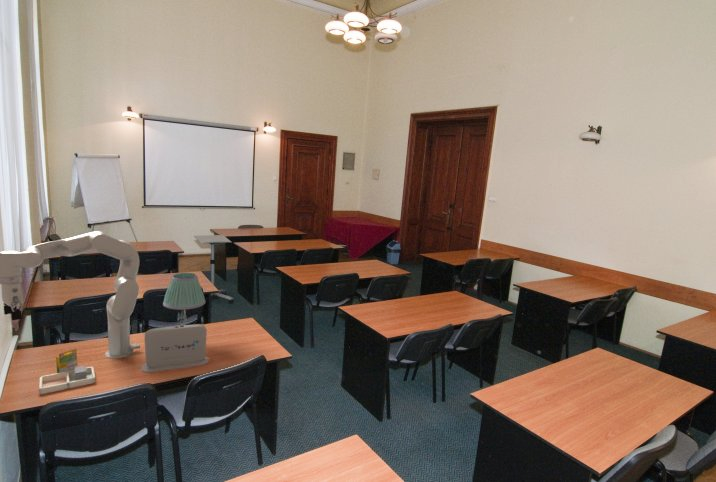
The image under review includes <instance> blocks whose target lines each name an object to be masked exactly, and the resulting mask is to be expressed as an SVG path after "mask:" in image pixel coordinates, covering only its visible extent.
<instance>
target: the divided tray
mask: <svg viewBox="0 0 716 482" xmlns="http://www.w3.org/2000/svg"><path fill="white" fill-rule="evenodd" d="M95 383H96V374H95V370H94V366H93V365H92V366H89V367H86V379H81V380H76V381H75V370H71V371H66V372H61V373H57V372H56V373H51V374H46V375H40V376H39V384H38V385H39V386H38V389H39V390H38V392H39V394H38V395H44V394H49V393H54V392H57V391H59V392H60V391H63V390H68V389H72V388H73V389H74V388H77V387H81V386H86V385H90V384H91V385H92V384H95Z"/></svg>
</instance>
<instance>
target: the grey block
mask: <svg viewBox="0 0 716 482" xmlns="http://www.w3.org/2000/svg"><path fill="white" fill-rule="evenodd" d="M86 368H87V367H86V365H81V366H77V367H75V381H76V380H81V379H86Z"/></svg>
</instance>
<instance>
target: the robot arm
mask: <svg viewBox="0 0 716 482" xmlns="http://www.w3.org/2000/svg"><path fill="white" fill-rule="evenodd" d="M93 251H96V252H98V253H101V254H103V255H106V256H108V257H112V258H114V259H117V260H119V268H118V271H117V274H116V278H115V280H114V284H113V288H114V290H115V294H114V295H112V296H110V297H109V299H108V300H107V302H106V315H107V336H108V338H107V339H108V340H107V343H108V344H107V346H108V348H107V349H108V350H107V351H106V352H105V353H104V356H105V357H106V358H107V359H122V358H125V357H128V358H129V357H131V355H133V354H134V350H137V349H141V344H138V343H133V344H132V343H131V341H130V340H131V337H130V335H131V334H130V333H131V332H130V331H131V330H130V325H131V323H130V316H131V315H132V313H133V312H134V309H135V306H136V303H137V299H138V297H139V296H138V295H139V293H140V292H139V291H140V287H139V283H138V282H137V276H138V272H139V267H140V256H139V253H138V251H137V249H136V247H135V246H134V245H133V244H132V243H130V242H129V241H128V240H125V239H117V238H115V237H111V236H109V235H108V234H107V233H105V232H104V231H102V230H94V231H91V232H87V233H83V234H79V235H75V236H71V237H68V238H63V239H58V240H53V241H47V242H42V243H38V244H36V245H31V246H27V247H26V248H24V249H23V250H22V251H21V252H19V251H18V250H2V251H0V285H1V286H0V287H1V299H2V303H3V311H4V312H3V313H4V315H5V316H6V315H10V314H11V320H12V321H17V320H22V308H21V307H22V306H21V305H23V304H24V299H23V298H24V297H23V291H22V286H21V285H22V284H21V283H22V281H23V280H22V279H23V278H22V268H24V269H30V268H31V269H33V268H37V267H40V266H41V265H42V263H43V261H44V260H47V259H50V258H55V257H75V256H79V255H82V254H84V253H85V254H87V253H89V252H93Z"/></svg>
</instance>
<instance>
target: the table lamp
mask: <svg viewBox="0 0 716 482" xmlns="http://www.w3.org/2000/svg"><path fill="white" fill-rule="evenodd" d="M166 289H167V290H166V291H165V295H164V298H163V302H162V306H163V307H165V308H166V309H170V310H180V311H181V312H178V313H177V322H179V321H180V323H181V324H182V321H183V325H187V321H188V319H187V318H188V317H187V315H186V312H187V311H186V310H191V309H197V308H200V307H203V306H205V304H206V302H207V301H206V299H205V295H204V292H203V290H202V287H201V284H200V282H199V278H198V275H197V274H196V273H190V272H181V273H180V272H179V273H175V274H173V275H172V277H171V279H170V282H169V284H168V287H167V288H166Z"/></svg>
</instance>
